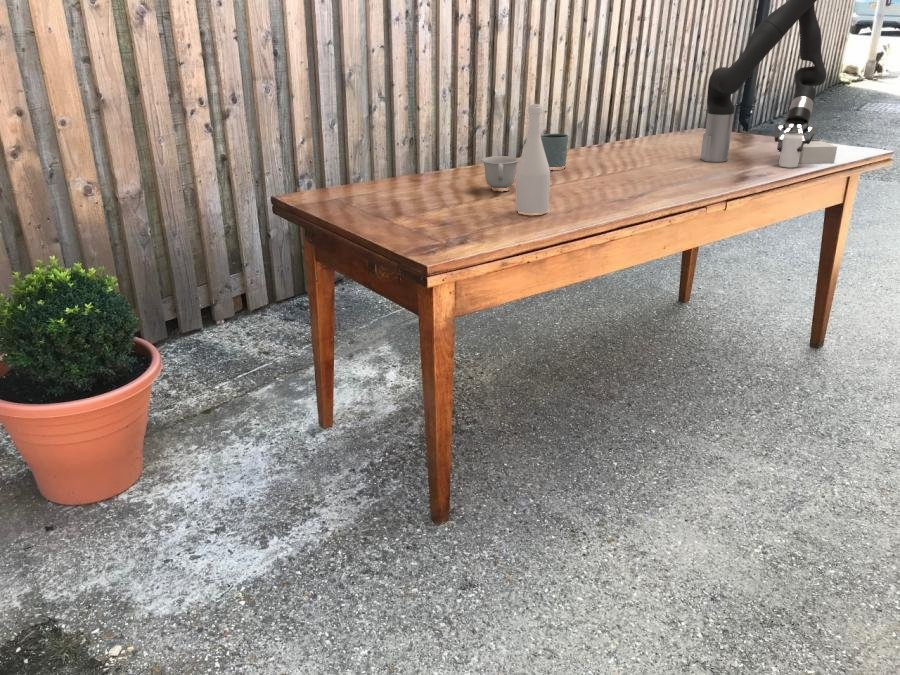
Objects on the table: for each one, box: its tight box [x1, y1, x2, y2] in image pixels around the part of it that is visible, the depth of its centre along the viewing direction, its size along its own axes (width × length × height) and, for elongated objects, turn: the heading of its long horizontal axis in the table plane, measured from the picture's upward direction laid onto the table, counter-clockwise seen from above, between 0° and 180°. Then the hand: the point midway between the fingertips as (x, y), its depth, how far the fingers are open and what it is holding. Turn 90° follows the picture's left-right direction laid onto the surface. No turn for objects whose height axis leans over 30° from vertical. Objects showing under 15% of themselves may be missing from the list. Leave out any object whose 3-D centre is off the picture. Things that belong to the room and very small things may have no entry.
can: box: [778, 131, 804, 169], centre depth 260 cm, size 6×6×12 cm
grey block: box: [798, 140, 838, 165], centre depth 271 cm, size 12×12×6 cm
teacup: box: [481, 155, 520, 188], centre depth 232 cm, size 12×15×10 cm
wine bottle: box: [515, 103, 551, 213], centre depth 202 cm, size 10×10×30 cm
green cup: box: [540, 133, 569, 167], centre depth 264 cm, size 10×10×12 cm
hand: (788, 150), depth 258 cm, fingers closed on can, 5 cm apart
